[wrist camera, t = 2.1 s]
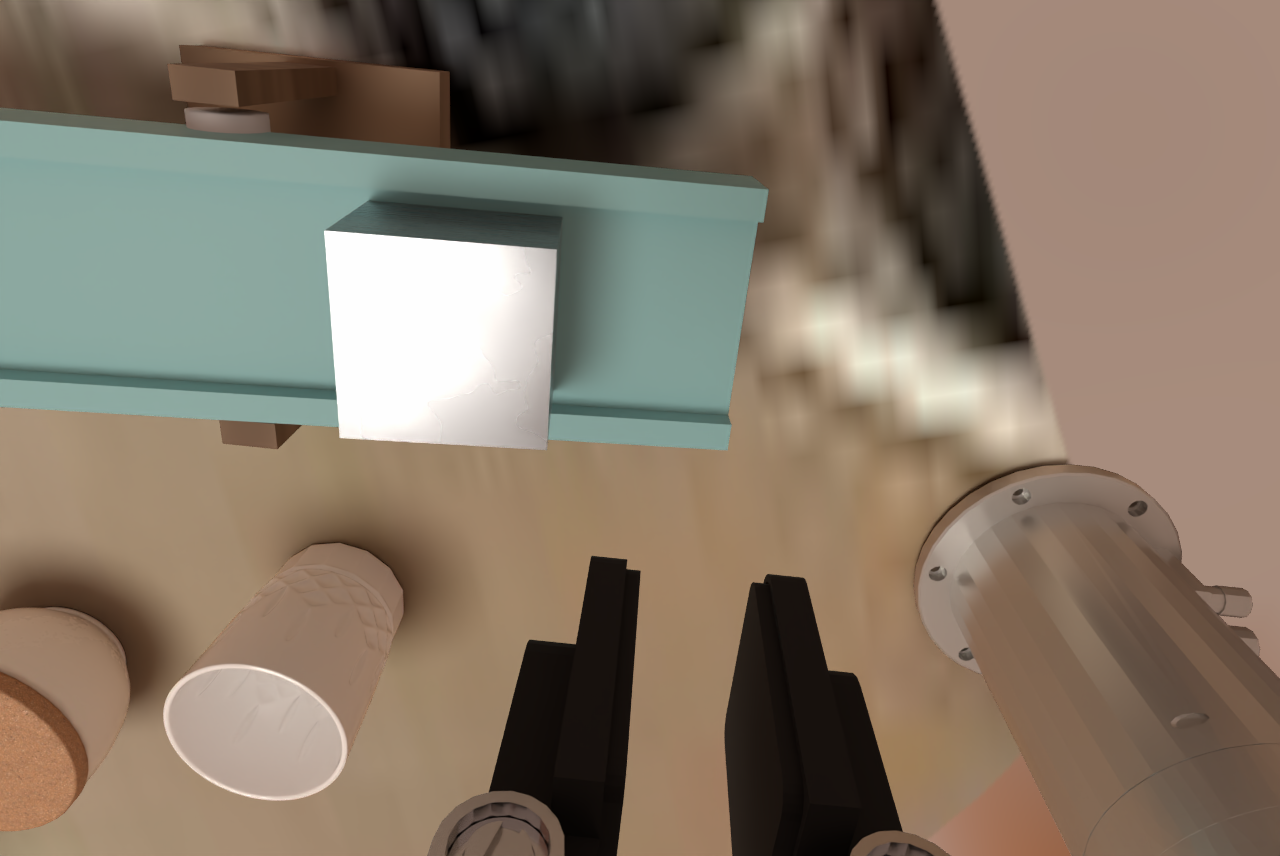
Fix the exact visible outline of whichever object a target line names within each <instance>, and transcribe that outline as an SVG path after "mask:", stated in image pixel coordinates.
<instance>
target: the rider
mask: <svg viewBox="0 0 1280 856" xmlns="http://www.w3.org/2000/svg"><path fill="white" fill-rule="evenodd" d="M562 219H563V217H559V216H547V215H535V214H523V213H511V212H500V211H488V210H476V209H464V208H453V207H441V206H429V205H417V204H405V203H394V202H382V201H370V200H368V201H367V202H365V203H364V204H362V205H361V206H359V207H358V208H357V209H355V210H354V211H352V212H351V213H349V214H348V215H346V216H345V217H343V218H342V219H341V220H339V221H338V222H336V223H335V224H333V225H332V226H330V227H329V228H327V229H326V230H325V231H324V233H325V246H326V259H327V273H328V286H329V299H330V313H331V326H332V339H333V353H334V366H335V379H336V393H337V406H338V419H339V432H340V438H351V439H368V440H385V441H402V442H418V443H435V444H452V445H469V446H486V447H503V448H520V449H537V450H547V445H548V436H549V427H550V418H551V410H552V401H553V392H554V373H555V354H556V335H557V315H558V296H559V277H560V257H561V238H562Z"/></svg>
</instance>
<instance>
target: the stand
mask: <svg viewBox="0 0 1280 856" xmlns="http://www.w3.org/2000/svg"><path fill="white" fill-rule="evenodd" d="M179 47H180V54H181V62H182V64H167V65H168V72H169V79H170V86H171V92H172V99H173V100H176V101H185V102H187V105H188V108H193V107H220V108H237V109H247V110H255V111H261V112H266V113H268V114H269V119H270V130H271V132H274V133H285V134H296V135H307V136H317V137H328V138H339V139H350V140H361V141H372V142H383V143H394V144H405V145H416V146H427V147H438V148H449V149H450V72H448V71H439V70H429V69H420V68H410V67H401V66H391V65H381V64H372V63H362V62H353V61H343V60H333V59H324V58H314V57H305V56H295V55H285V54H276V53H266V52H257V51H247V50H238V49H228V48H218V47H209V46H194V45H179ZM219 421H220V428H221V435H222V442H223V444H233V445H242V446H252V447H262V448H271V449H278V448H279V447H280V446H281V445H282V444H283V443H284V442H285V441H286V440H287V439H288V438H289V437H290V436H291V435H292V434H293V433H294V432H295V431H296V430H297V429H298V428H299V427H300V426H301V425H296V424H279V423H263V422H246V421H229V420H219Z"/></svg>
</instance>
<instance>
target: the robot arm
mask: <svg viewBox="0 0 1280 856" xmlns="http://www.w3.org/2000/svg"><path fill="white" fill-rule="evenodd" d="M1181 559H1182V551H1181V546H1180V541H1179V536H1178V532H1177V530H1176V528H1175V526H1174V524H1173V522H1172V520H1171V519H1170V517H1169V515H1168V514H1167V512H1166V511H1165V510H1164V509H1163V508H1162V507H1161V506H1160V505H1159V504H1158V503H1157V501H1155V499H1153V498H1152V497H1151V496H1150V495H1149V494H1148V493H1147V492H1145V491H1144V490H1143V489H1142V488H1141V487H1140V486H1138V485H1137V484H1135V483H1134V482H1131V481H1130V480H1128V479H1126V478H1124V477H1122V476H1120V475H1119V474H1116V473H1113V472H1110V471H1106V470H1103V469H1099V468H1096V467H1090V466H1080V465H1070V464H1066V465H1051V466H1040V467H1036V468H1031V469H1027V470H1022V471H1018V472H1015V473H1012V474H1010V475H1007V476H1005V477H1002V478H999V479H997V480H994V481H992V482H990V483H988V484H987V485H985V486H983V487H981V488H980V489H978V490H976V491H974V492H973V493H971V494H969V495H968V496H967V497H965V498H964V499H963V500H962V501H960V502H959V503H958V504H957V505H956V506H954V507H953V508H952V509H951V510H949V512H948V513H947V514H946V515H945V516H944V517H943V518H942V520H941V521H940V522H939V523H938V524H937V525H936V526H935V527H934V529H933V530H932V532H931V534H930V535H929V537H928V539H927V540H926V542H925V544H924V545H923V547H922V550H921V553H920V556H919V559H918V561H917V564H916V568H915V577H914V585H913V587H914V595H915V603H916V607H917V609H918V612H919V615H920V617H921V620H922V623H923V625H924V626H925V628H926V630H927V632H928V634H929V636H930V638H931V640H932V641H933V642H934V643H935V644H936V645H937V646H938V647H939V649H940V650H941V651H942V652H943V653H944V654H945V655H947V656H948V657H949V658H950V659H952V660H953V661H954V662H956V663H957V664H959V665H961V666H963V667H965V668H967V669H970V670H972V671H974V672H976V673H978V674H982V675H983V677H984V679H985V681H986V683H987V685H988V687H989V689H990V691H991V693H992V695H993V697H994V699H995V701H996V703H997V705H998V707H999V709H1000V711H1001V713H1002V715H1003V717H1004V719H1005V721H1006V723H1007V726H1008V728H1009V730H1010V732H1011V734H1012V736H1013V738H1014V740H1015V742H1016V744H1017V746H1018V748H1019V750H1020V752H1021V754H1022V756H1023V758H1024V760H1025V762H1026V764H1027V766H1028V768H1029V770H1030V772H1031V774H1032V776H1033V778H1034V780H1035V782H1036V784H1037V786H1038V788H1039V790H1040V793H1041V795H1042V797H1043V799H1044V800H1045V803H1046V805H1047V807H1048V809H1049V811H1050V813H1051V815H1052V817H1053V819H1054V821H1055V823H1056V825H1057V827H1058V829H1059V831H1060V833H1061V835H1062V837H1063V839H1064V841H1065V843H1066V845H1067V847H1068V849H1069V851H1070V853H1071V855H1072V856H1280V678H1278V677H1277V676H1276V675H1275V673H1274V672H1273V671H1272V670H1271V669H1270V668H1269V667H1268V666H1267V665H1266V664H1265V663H1264V662H1263V661H1262V660H1261V659H1260V658H1259V652H1260V647H1259V642H1258V639H1257V637H1256V636H1255V634H1254V633H1253V631H1251V630H1249V629H1248V628H1246V627H1238V626H1229V625H1227V624H1226V623H1225V622H1224V621H1223V619H1222V618H1221V617H1220V616H1219V615H1221V616H1230V617H1240V618H1242V617H1247V615H1249V613H1251V610H1252V606H1253V603H1252V597H1251V596H1250V594H1249V593H1248V591H1246V590H1244V589H1243V588H1235V587H1225V586H1212V587H1211V586H1204V585H1203V584H1202V583H1201V582H1200V581H1199V580H1198V579H1197V578H1196V577H1195V576H1194V575H1193V574H1192V573H1191V572H1190V571H1189V570H1188V569H1187V568H1186V567H1185V566H1184V565H1183V564H1182V563H1181ZM626 567H627V560H626V559H617V558H607V557H597V556H591V561H590V566H589V572H588V578H587V584H586V590H585V595H584V601H583V607H582V613H581V619H580V624H579V630H578V636H577V642H576V644H566V643H556V642H547V641H537V640H529V641H528V643H527V646H526V649H525V653H524V657H523V661H522V665H521V669H520V673H519V676H518V680H517V684H516V688H515V692H514V696H513V700H512V704H511V708H510V712H509V716H508V719H507V723H506V727H505V731H504V735H503V739H502V743H501V747H500V751H499V755H498V759H497V763H496V766H495V770H494V774H493V778H492V782H491V786H490V790H489V793H485V794H481V795H478V796H474V797H472V798H470V799H469V800H467V801H465V802H464V803H462V804H460V805H458V806H457V807H455V808H454V810H453V811H452V812H451V813H450V814H449V815H448V816H447V817H446V818H445V819H444V820H443V821H442V822H441V824H440V826H439V828H438V830H437V832H436V834H435V836H434V838H433V840H432V843H431V846H430V849H429V852H428V855H427V856H617V848H618V840H619V832H620V823H621V815H622V807H623V798H624V789H625V778H626V767H627V754H628V740H629V726H630V712H631V698H632V684H633V670H634V656H635V642H636V628H637V614H638V600H639V586H640V571H638V570H628V569H626ZM725 754H726V769H727V783H728V798H729V812H730V827H731V841H732V856H950V855H949V854H948V853H946V852H945V851H944V850H943V849H941V848H940V847H938V846H937V845H936V844H934V843H932V842H930V841H928V840H926V839H924V838H921V837H919V836H917V835H914V834H910V833H905V832H903V831H902V827H901V824H900V821H899V817H898V814H897V810H896V807H895V803H894V800H893V796H892V793H891V790H890V786H889V783H888V779H887V776H886V772H885V769H884V765H883V762H882V759H881V755H880V752H879V748H878V745H877V741H876V738H875V734H874V731H873V728H872V724H871V721H870V717H869V714H868V710H867V707H866V703H865V700H864V697H863V693H862V690H861V686H860V684H859V681H858V679H857V677H856V676H855V675H854V674H853V673H847V672H838V671H828V668H827V664H826V660H825V656H824V652H823V648H822V644H821V640H820V636H819V632H818V628H817V623H816V619H815V615H814V611H813V607H812V603H811V599H810V595H809V591H808V587H807V583H806V580H805V579H804V578H800V577H791V576H781V575H771V574H767V575H766V577H765V579H764V584H763V583H754V582H753V583H752V584H751V587H750V591H749V597H748V602H747V607H746V613H745V618H744V623H743V629H742V634H741V639H740V645H739V650H738V655H737V661H736V666H735V671H734V676H733V682H732V687H731V692H730V698H729V703H728V708H727V714H726V721H725Z"/></svg>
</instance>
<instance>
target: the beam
mask: <svg viewBox="0 0 1280 856" xmlns="http://www.w3.org/2000/svg"><path fill="white" fill-rule="evenodd" d="M184 113H185V120H186V124H175V123H164V122H153V121H142V120H131V119H121V118H110V117H99V116H88V115H77V114H66V113H55V112H44V111H33V110H22V109H11V108H0V407H12V408H28V409H45V410H62V411H79V412H95V413H112V414H129V415H146V416H162V417H179V418H196V419H212V420H229V421H246V422H263V423H279V424H296V425H313V426H330V427H339V419H338V406H337V393H336V379H335V366H334V353H333V339H332V326H331V313H330V299H329V286H328V273H327V259H326V246H325V233H324V231H325V230H326V229H327V228H329V227H330V226H332V225H333V224H335V223H336V222H338V221H339V220H341V219H342V218H343V217H345V216H346V215H348V214H349V213H351V212H352V211H354V210H355V209H357V208H358V207H359V206H361V205H362V204H364V203H365V202H367V201H368V200H370V201H382V202H394V203H405V204H417V205H429V206H441V207H453V208H464V209H476V210H488V211H500V212H511V213H523V214H535V215H547V216H559V217H563V219H562V238H561V257H560V277H559V296H558V315H557V335H556V354H555V373H554V392H553V401H552V410H551V418H550V427H549V436H548V440H564V441H581V442H597V443H614V444H631V445H648V446H664V447H681V448H698V449H714V450H728V443H729V437H730V431H731V422H730V420H729V417H728V412H729V405H730V399H731V392H732V386H733V379H734V373H735V367H736V360H737V354H738V347H739V341H740V335H741V328H742V322H743V315H744V309H745V302H746V296H747V290H748V283H749V277H750V270H751V264H752V257H753V251H754V245H755V238H756V232H757V225H758V222H762V223H764V217H765V210H766V204H767V198H768V191H769V189H767V188H766V187H765V186H764V185H762V184H761V183H760V182H759V181H757V180H756V179H755V178H754V177H753V176H744V175H733V174H722V173H711V172H700V171H689V170H679V169H668V168H657V167H646V166H635V165H624V164H613V163H602V162H591V161H580V160H569V159H558V158H547V157H536V156H525V155H514V154H503V153H493V152H482V151H471V150H460V149H449V148H438V147H427V146H416V145H405V144H394V143H383V142H372V141H361V140H350V139H339V138H328V137H317V136H307V135H296V134H285V133H274V132H271V130H270V119H269V114H268V113H266V112H261V111H255V110H247V109H237V108H220V107H193V108H185V109H184Z"/></svg>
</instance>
